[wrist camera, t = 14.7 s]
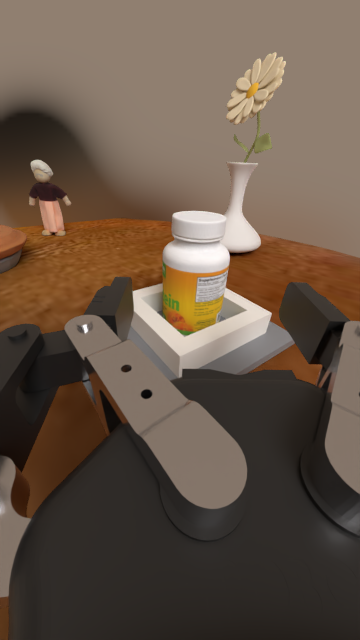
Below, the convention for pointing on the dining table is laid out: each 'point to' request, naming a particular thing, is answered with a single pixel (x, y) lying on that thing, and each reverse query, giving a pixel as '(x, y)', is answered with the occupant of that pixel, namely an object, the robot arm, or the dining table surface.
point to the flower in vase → (241, 106)
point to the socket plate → (206, 336)
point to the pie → (10, 247)
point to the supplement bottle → (195, 271)
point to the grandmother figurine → (48, 199)
